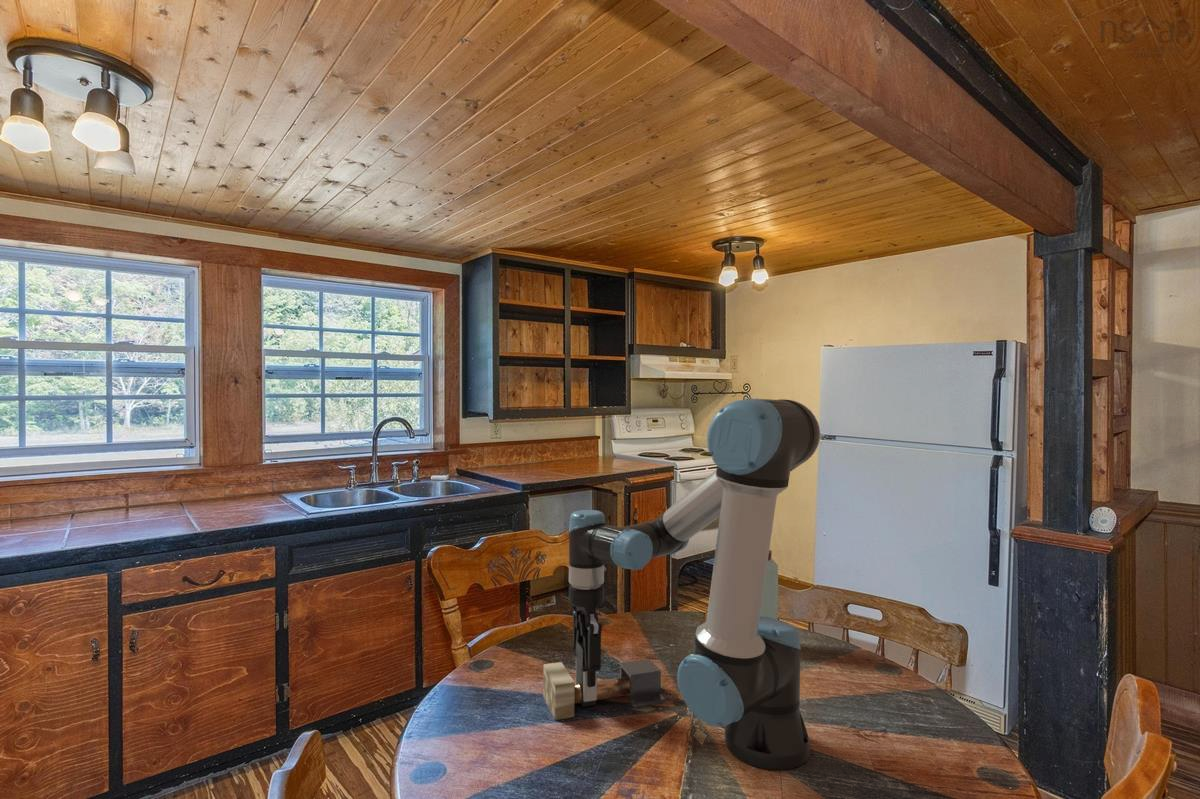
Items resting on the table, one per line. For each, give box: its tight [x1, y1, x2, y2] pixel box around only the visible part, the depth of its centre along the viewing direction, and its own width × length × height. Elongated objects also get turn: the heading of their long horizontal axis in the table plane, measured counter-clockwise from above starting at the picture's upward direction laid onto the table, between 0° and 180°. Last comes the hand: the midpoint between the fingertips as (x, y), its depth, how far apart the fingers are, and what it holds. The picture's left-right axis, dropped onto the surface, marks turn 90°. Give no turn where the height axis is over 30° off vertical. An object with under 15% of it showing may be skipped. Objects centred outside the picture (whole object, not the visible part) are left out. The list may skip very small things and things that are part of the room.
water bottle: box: [760, 549, 779, 620], centre depth 157 cm, size 10×10×25 cm
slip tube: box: [574, 640, 630, 708], centre depth 128 cm, size 5×19×12 cm, turn 109°
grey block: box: [619, 658, 666, 709], centre depth 131 cm, size 11×7×6 cm, turn 19°
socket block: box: [542, 661, 576, 721], centre depth 125 cm, size 10×4×7 cm, turn 19°
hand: (585, 694), depth 127 cm, fingers closed on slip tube, 5 cm apart
